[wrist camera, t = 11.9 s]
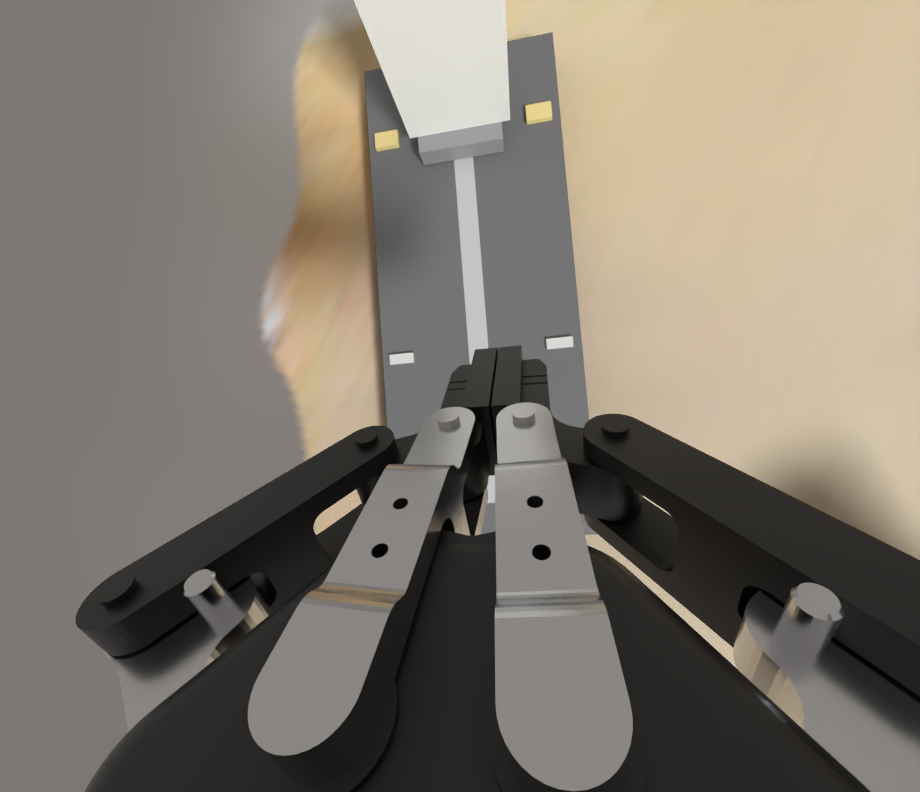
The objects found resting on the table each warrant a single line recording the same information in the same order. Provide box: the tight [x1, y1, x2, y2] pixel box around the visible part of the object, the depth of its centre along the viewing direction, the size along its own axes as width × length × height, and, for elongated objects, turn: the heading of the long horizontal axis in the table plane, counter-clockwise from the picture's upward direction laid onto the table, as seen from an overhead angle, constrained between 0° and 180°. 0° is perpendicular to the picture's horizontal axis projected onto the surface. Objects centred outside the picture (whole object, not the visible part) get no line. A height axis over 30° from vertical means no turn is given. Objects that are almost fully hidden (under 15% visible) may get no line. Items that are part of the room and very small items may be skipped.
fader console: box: [365, 33, 597, 535], centre depth 26 cm, size 12×30×2 cm, turn 4°
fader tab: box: [354, 0, 510, 165], centre depth 19 cm, size 7×4×12 cm, turn 94°
